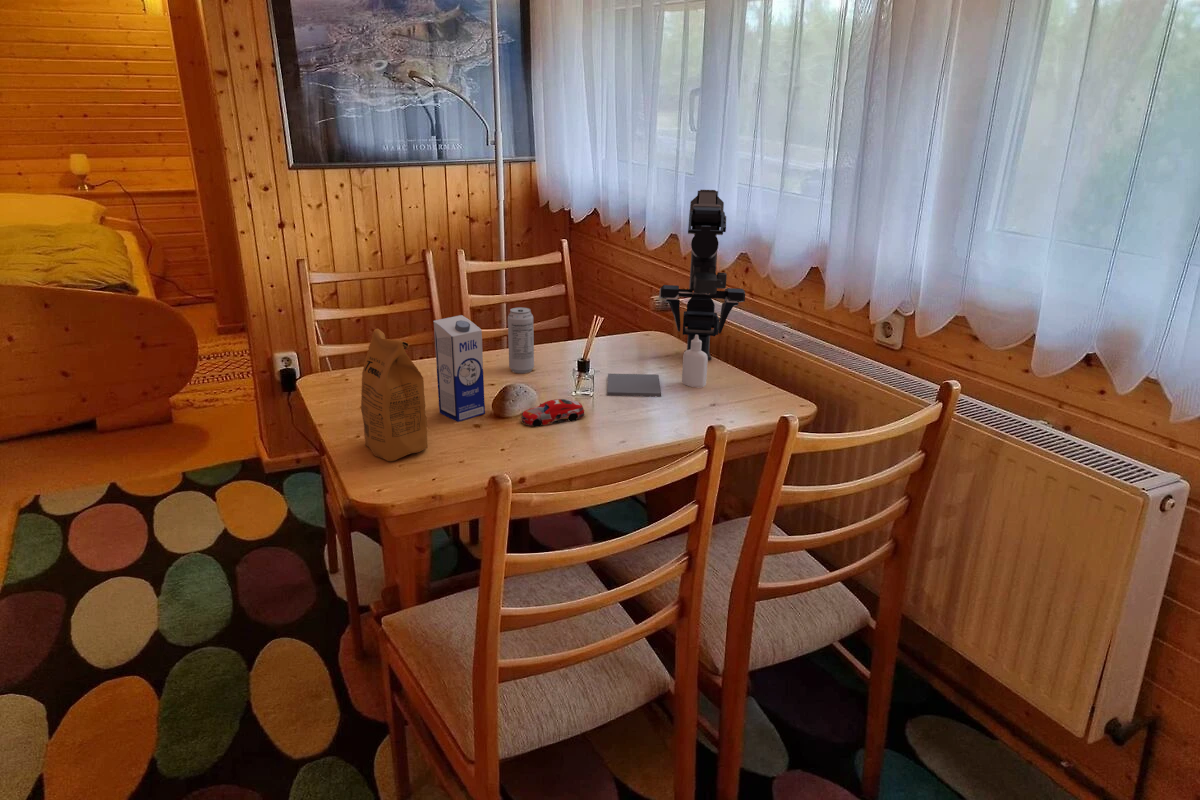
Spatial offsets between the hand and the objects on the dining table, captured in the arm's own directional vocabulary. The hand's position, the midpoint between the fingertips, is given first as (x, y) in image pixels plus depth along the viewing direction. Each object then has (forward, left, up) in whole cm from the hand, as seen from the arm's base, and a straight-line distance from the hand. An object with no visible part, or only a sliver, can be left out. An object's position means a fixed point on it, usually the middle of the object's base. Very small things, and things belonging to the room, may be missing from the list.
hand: (699, 332), depth 175 cm
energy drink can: (-9, -41, -13) cm, 44 cm away
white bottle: (-1, 0, -13) cm, 13 cm away
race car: (+22, -31, -13) cm, 41 cm away
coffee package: (+38, -59, -13) cm, 72 cm away
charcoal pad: (+1, -14, -13) cm, 19 cm away
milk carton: (+20, -50, -13) cm, 56 cm away
